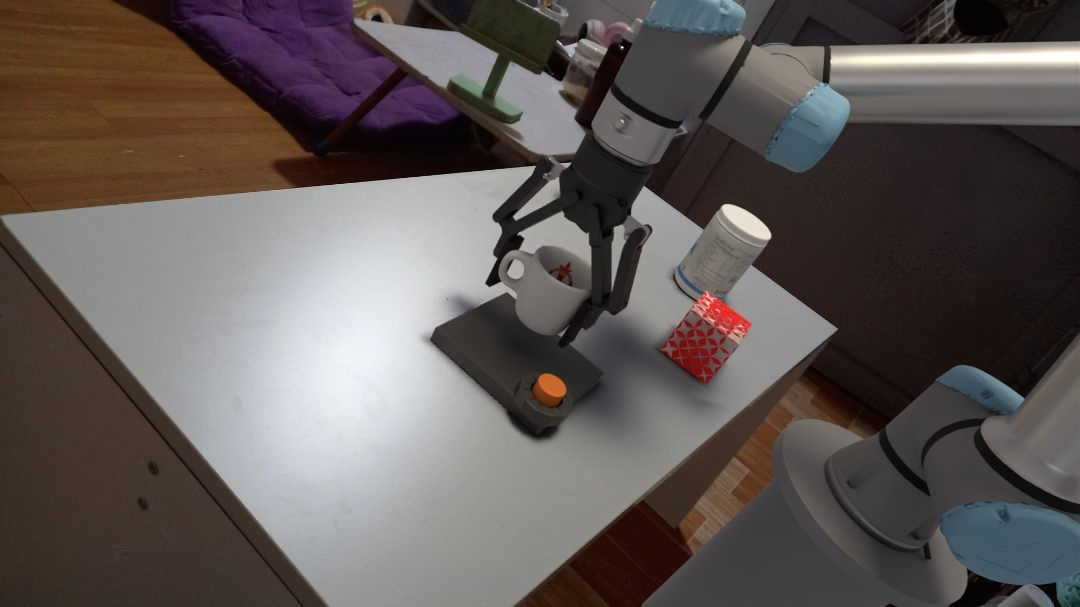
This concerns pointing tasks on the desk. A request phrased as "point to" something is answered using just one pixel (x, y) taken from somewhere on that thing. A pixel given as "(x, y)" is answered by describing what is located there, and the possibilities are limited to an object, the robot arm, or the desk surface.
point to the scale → (515, 360)
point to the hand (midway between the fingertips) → (528, 311)
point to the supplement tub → (722, 253)
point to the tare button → (549, 390)
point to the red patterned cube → (706, 337)
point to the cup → (548, 287)
